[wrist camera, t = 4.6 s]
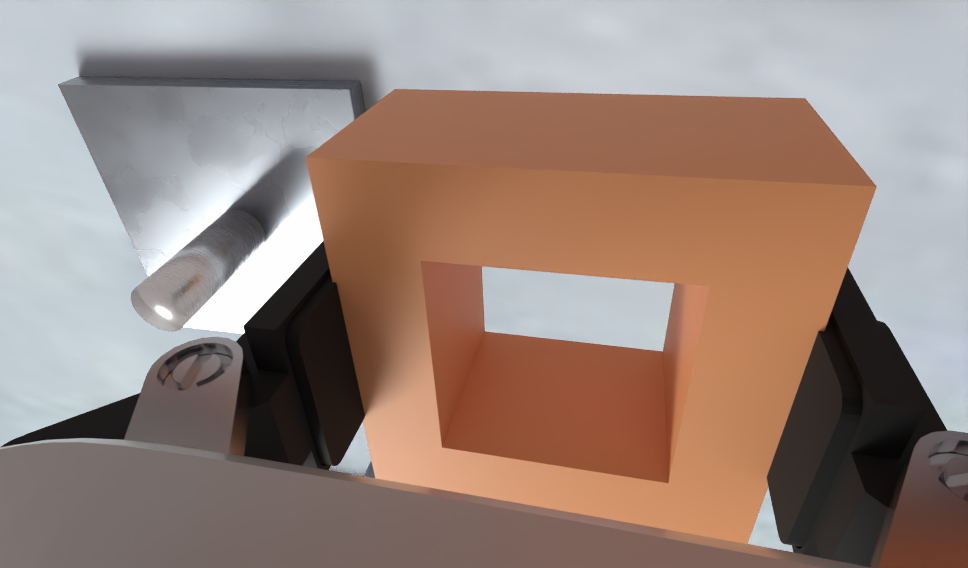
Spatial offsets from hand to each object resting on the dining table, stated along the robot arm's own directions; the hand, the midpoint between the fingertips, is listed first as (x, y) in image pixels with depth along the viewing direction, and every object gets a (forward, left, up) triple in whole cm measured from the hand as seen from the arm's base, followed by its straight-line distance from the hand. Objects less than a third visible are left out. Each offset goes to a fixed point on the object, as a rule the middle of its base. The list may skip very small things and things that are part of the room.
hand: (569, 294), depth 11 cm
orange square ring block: (0, 0, -1) cm, 1 cm away
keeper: (+14, +5, -11) cm, 19 cm away
